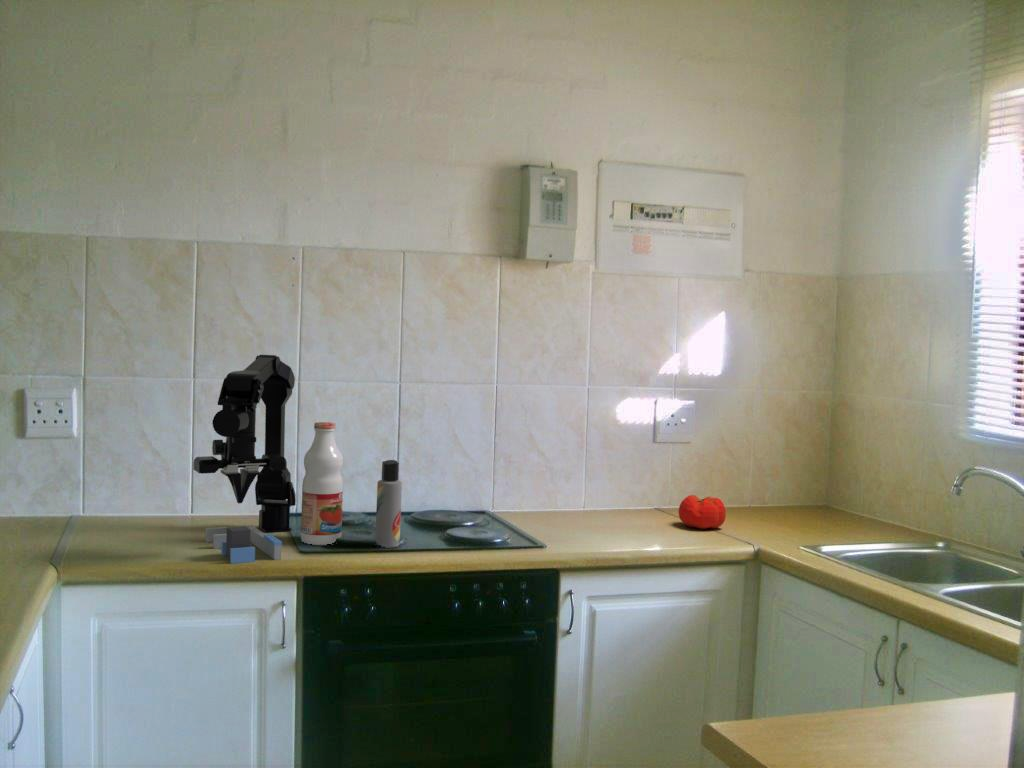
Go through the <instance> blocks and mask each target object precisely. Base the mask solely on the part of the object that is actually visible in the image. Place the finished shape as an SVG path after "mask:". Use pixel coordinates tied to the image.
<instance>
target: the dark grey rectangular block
mask: <svg viewBox="0 0 1024 768" xmlns="http://www.w3.org/2000/svg"><path fill="white" fill-rule="evenodd" d="M226 527H227V538H226V556H225V558H227V559H228V560H229V561H230V548H242V547H251V542H250V534H251V530H250V529H249V528H247V527H246V525H244V526H226Z"/></svg>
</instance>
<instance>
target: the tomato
mask: <svg viewBox="0 0 1024 768" xmlns="http://www.w3.org/2000/svg"><path fill="white" fill-rule="evenodd" d="M726 512H727V511H726V506H725V504H724V502H723V501H722V500H721V498H719V497H712V496H706V497H704V498H700V497H698V496H697V495H694V494H690V495H687V496H686V497H685V498H684V499H683V500H682V501H681V502H680V504H679V506H678V517H679V519H680V521H681V522H682V523H683V524H684V525H686V526H688V527H690V528H696V529H701V530H704V529H705V530H706V529H708V528H710V529H712V530H714V529H716V528H719V527H721V526H722V525H723V524H724V522H725V521H726V516H727V514H726Z"/></svg>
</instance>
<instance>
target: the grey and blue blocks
mask: <svg viewBox="0 0 1024 768" xmlns="http://www.w3.org/2000/svg"><path fill="white" fill-rule="evenodd" d="M245 526H246V527H247V528H249V529H250V530H251V534H250V544H253V545H254V546H250V547H242V548H230V560H229V563H230V564H241V563H242V564H243V563H254V562H255V560H256V559H255V558H256V548H258V549H259V550H260V551H263V553H265V554H266V555H268V556H269V557H270V558H271V559H273V560H281V559H282V546H283V541H282V540H280V539H278V538H277V537H276V536H274V535H273V534H271V533H268V534H267V533H264V531H261V529H260V528H257V527H256V526H254V525H253V524H250V525H245ZM227 527H228V526H219V527H218V526H217V527H206V528H205V537H204V538H205V542H206V543H210V542H211V543H212V545H213V546H212V548H213V549H214V550H215V549H218V550H219V549H220V550H221V552H220V554H221V556H222V557H226V538H227Z"/></svg>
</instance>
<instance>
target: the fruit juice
mask: <svg viewBox="0 0 1024 768" xmlns="http://www.w3.org/2000/svg"><path fill="white" fill-rule="evenodd" d="M313 427H314V428H313V431H314V432H315V433H314V437H313V441H312V444H311V446H310V447H309V449H307V451H306V452H305V454H304V457H303V467H304V469H305V470H304V471H305V474H304V477H303V478H302V489H301V490H302V491H301V520H300V527H301V528H300V539H301V542H302V543H303V542H304V544H306V543H307V544H306V545H310V544H312V546H328V545H327V544H331V545H333V544H332V543H334V542H335V541H336V539H337V538H340V537H341V538H342V526H343V525H342V524H343V523H342V521H343V501H344V499H343V496H344V493H343V492H344V479H343V476H342V469H343V466H344V457H343V454H342V452H341V450H340V449H339V447H338V445H337V442H336V438H335V431H336V428H337V427H336V423H334V422H329V421H327V422H326V421H325V422H323V421H322V422H320V421H319V422H314V424H313Z"/></svg>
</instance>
